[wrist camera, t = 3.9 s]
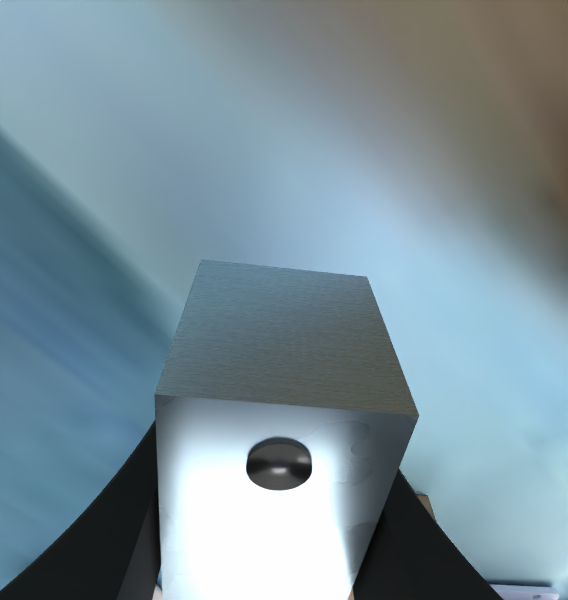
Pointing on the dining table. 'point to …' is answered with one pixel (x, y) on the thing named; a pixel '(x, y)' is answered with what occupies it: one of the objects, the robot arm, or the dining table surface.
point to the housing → (276, 434)
